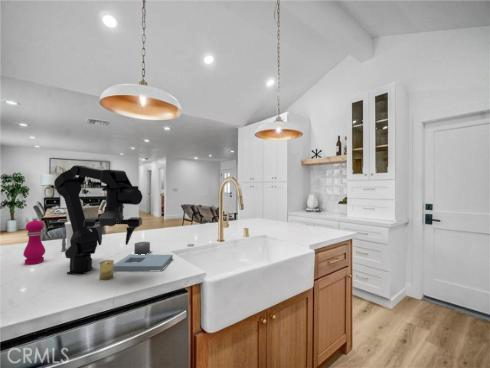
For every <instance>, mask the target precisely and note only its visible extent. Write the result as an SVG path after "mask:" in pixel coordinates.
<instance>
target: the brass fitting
mask: <svg viewBox="0 0 490 368" xmlns="http://www.w3.org/2000/svg"><path fill="white" fill-rule="evenodd" d="M114 264H115V262H114V260H112V259H107V260H102V261H100V262H99V281H109V280H111V279H113V278H114V271H113V269H114Z"/></svg>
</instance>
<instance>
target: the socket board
mask: <svg viewBox="0 0 490 368" xmlns="http://www.w3.org/2000/svg"><path fill="white" fill-rule="evenodd" d="M173 256H174V254H145V255H135V254H128V255H127V256H125V257H124V258H121V259H120V260H119V261H117V262H116V263H115V262H114V269H113V272H151V271H150V270H162V271H164V269H165V268H166V267H167V266H168V265H169V264H168V263H171V261H172V260H173V259H172V258H173ZM171 259H172V260H171ZM170 260H171V261H170ZM167 264H168V265H167ZM166 265H167V266H166ZM165 266H166V267H165ZM164 267H165V268H164ZM163 268H164V269H163Z"/></svg>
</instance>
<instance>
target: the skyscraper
mask: <svg viewBox="0 0 490 368" xmlns="http://www.w3.org/2000/svg"><path fill="white" fill-rule="evenodd" d="M80 201H81V205H82V208H84V201H83V200H81V199H80ZM66 219H67V221H66V222H70V218H69V215H68V211H67V210H66ZM62 232H63V233H62V236H61V237H62V242H61V251H60V253H65V252H66V251H67V249H68V248H69V243H68V237H67V235H66V228H65V226H64V227H63V230H62ZM66 237H67V238H66Z"/></svg>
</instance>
